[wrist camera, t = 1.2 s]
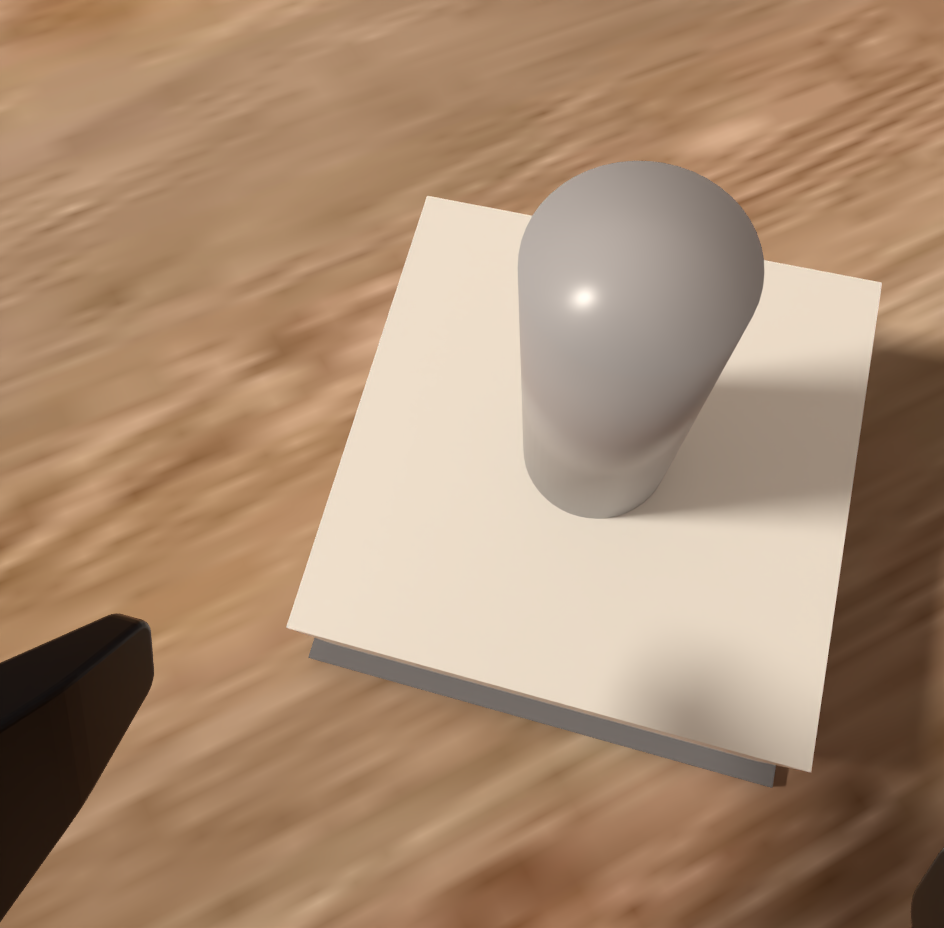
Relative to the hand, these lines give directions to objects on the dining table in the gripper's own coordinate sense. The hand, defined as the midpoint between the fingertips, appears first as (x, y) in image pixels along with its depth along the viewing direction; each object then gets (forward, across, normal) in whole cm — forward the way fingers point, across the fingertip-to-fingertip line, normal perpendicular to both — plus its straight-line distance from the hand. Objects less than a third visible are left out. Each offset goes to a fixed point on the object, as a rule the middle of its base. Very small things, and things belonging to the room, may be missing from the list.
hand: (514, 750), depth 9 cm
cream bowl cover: (+13, 0, +4) cm, 14 cm away
